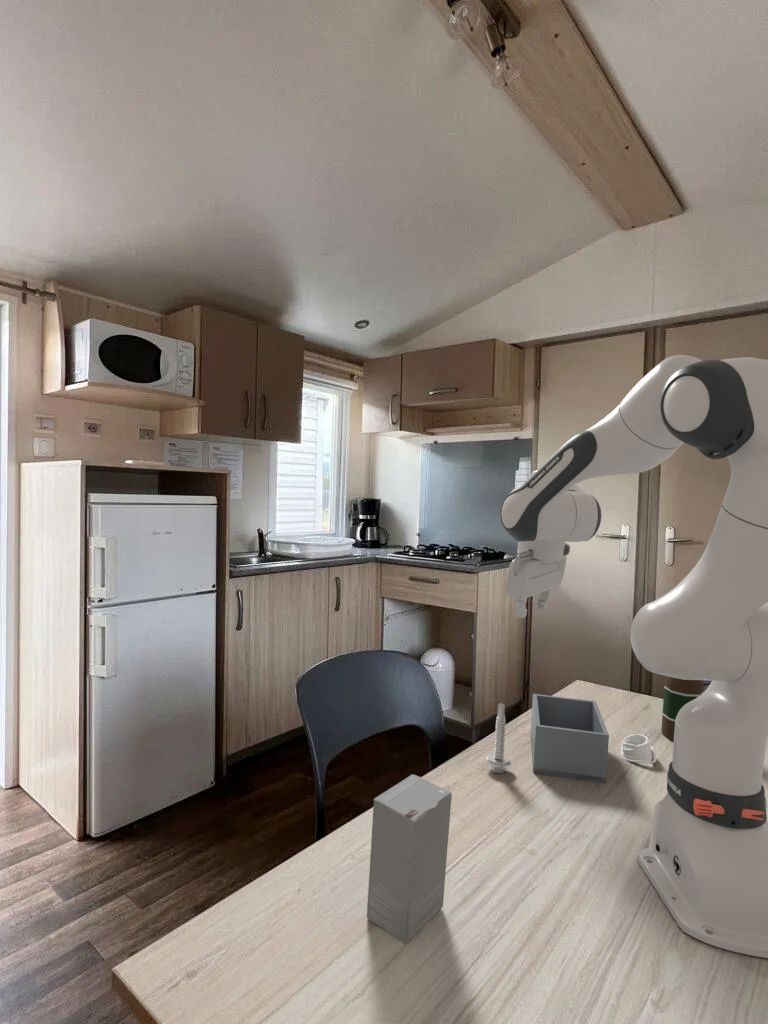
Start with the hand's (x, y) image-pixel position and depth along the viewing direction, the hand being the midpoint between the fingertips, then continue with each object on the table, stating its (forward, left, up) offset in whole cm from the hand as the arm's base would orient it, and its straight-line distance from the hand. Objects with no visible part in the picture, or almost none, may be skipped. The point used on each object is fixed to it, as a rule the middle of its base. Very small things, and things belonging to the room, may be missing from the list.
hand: (530, 612), depth 123 cm
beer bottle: (+15, -34, -28) cm, 47 cm away
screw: (-13, +5, -28) cm, 31 cm away
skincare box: (-55, +15, -28) cm, 64 cm away
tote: (-3, -8, -28) cm, 29 cm away
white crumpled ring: (+1, -23, -28) cm, 36 cm away
